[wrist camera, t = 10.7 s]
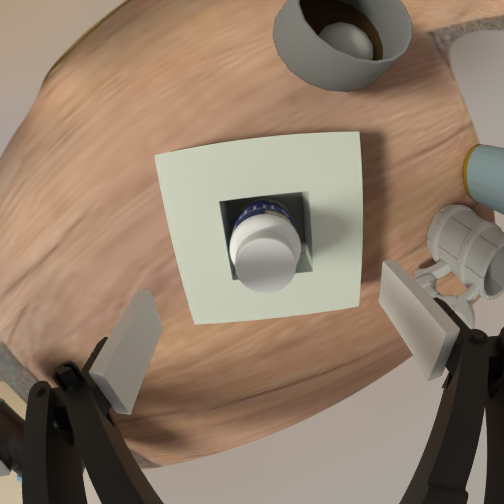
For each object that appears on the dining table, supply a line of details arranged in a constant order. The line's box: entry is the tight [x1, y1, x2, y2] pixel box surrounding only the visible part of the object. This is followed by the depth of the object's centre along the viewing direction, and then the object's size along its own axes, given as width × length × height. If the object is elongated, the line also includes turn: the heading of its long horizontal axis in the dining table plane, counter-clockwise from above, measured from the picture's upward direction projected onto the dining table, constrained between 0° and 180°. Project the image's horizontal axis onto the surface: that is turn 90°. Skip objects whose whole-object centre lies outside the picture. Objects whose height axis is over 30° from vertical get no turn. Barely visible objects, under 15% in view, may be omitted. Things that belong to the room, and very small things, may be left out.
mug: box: [414, 204, 504, 329], centre depth 21 cm, size 8×12×12 cm, turn 135°
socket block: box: [155, 132, 363, 325], centre depth 24 cm, size 16×16×4 cm
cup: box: [273, 0, 412, 92], centre depth 15 cm, size 10×9×10 cm
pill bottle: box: [230, 199, 301, 293], centre depth 22 cm, size 5×5×9 cm
